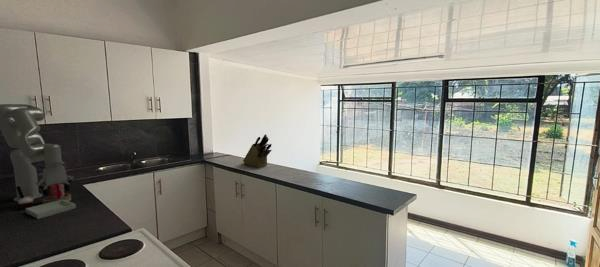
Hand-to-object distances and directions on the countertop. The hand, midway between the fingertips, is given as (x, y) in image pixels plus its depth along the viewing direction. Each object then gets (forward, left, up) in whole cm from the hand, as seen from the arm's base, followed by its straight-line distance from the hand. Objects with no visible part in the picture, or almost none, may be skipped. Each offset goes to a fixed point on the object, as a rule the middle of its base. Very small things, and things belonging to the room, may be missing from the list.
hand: (56, 193), depth 160 cm
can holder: (0, 0, -5) cm, 5 cm away
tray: (+15, -8, -5) cm, 17 cm away
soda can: (0, 0, -6) cm, 6 cm away
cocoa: (-3, -13, -6) cm, 14 cm away
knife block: (+43, +136, -6) cm, 143 cm away
